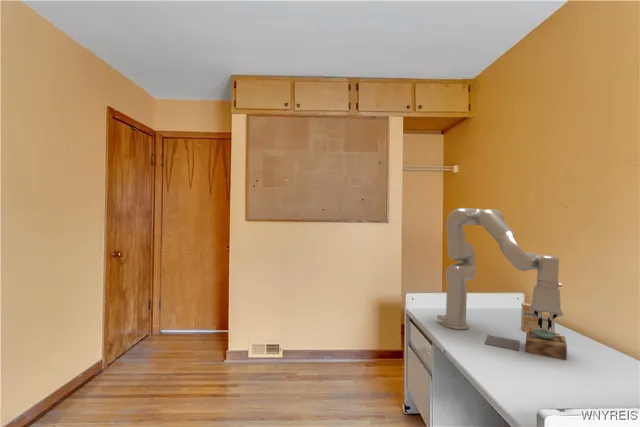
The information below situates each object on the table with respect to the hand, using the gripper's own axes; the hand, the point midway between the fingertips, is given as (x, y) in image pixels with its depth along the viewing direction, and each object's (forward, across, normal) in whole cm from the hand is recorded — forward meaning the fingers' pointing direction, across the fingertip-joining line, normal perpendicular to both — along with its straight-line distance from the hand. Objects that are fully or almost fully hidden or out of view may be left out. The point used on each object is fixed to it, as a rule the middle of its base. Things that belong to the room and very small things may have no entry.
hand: (544, 327), depth 150 cm
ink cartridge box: (+10, -4, -18) cm, 21 cm away
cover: (+3, 0, 0) cm, 3 cm away
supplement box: (+10, +4, -28) cm, 30 cm away
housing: (+10, -1, 0) cm, 10 cm away
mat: (+10, +15, 0) cm, 18 cm away
